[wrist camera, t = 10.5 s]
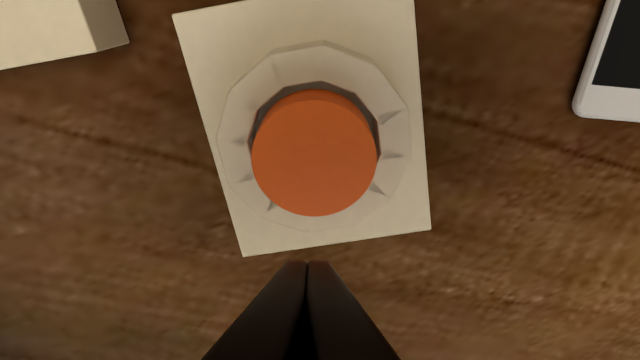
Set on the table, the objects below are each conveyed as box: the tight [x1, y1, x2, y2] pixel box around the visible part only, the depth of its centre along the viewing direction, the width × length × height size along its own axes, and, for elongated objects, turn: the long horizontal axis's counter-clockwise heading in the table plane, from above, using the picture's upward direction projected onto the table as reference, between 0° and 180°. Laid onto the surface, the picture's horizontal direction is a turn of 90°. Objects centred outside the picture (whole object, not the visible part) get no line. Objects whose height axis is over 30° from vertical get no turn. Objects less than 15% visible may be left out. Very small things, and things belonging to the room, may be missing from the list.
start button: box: [251, 89, 377, 217], centre depth 16 cm, size 4×4×2 cm
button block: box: [172, 0, 431, 257], centre depth 18 cm, size 11×9×4 cm
